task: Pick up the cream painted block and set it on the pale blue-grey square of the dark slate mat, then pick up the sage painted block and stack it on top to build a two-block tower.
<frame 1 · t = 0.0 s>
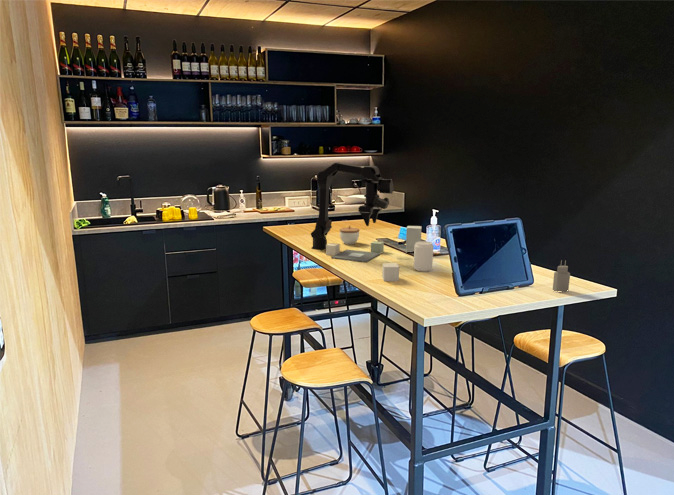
hand: (371, 224, 246), 15 cm above the table, fingers open, 9 cm apart
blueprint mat: (356, 256, 244), on the table
pinkish grey cube: (390, 279, 206), on the table
supplement box: (413, 251, 254), on the table
beverage can: (422, 270, 220), on the table
sage block: (377, 252, 253), on the table
power adapter: (560, 291, 191), on the table
lidded jar: (349, 243, 273), on the table
cream block: (332, 254, 248), on the table
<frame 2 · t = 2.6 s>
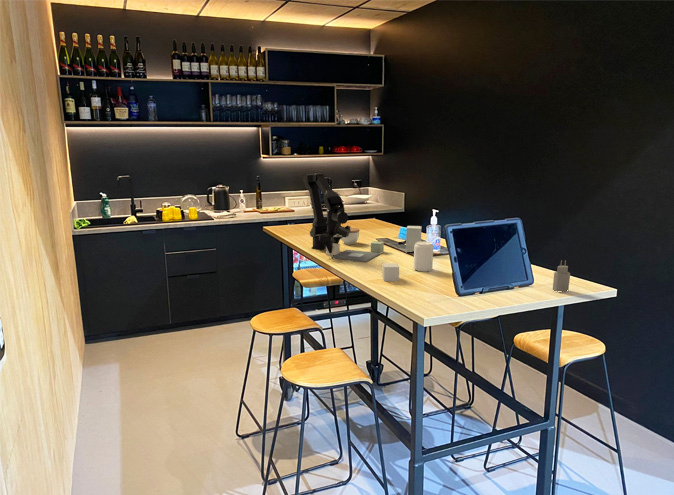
hand: (332, 252, 248), 1 cm above the table, fingers closed on cream block, 5 cm apart
cream block: (332, 254, 248), on the table, touching gripper
everything else where it was.
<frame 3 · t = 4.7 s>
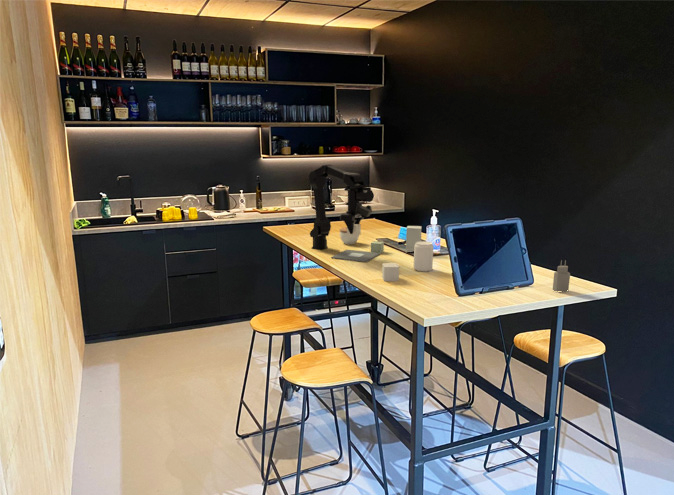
hand: (353, 232, 242), 11 cm above the table, fingers closed on cream block, 5 cm apart
cream block: (353, 235, 242), point 10 cm above the table, touching gripper
everything else where it was.
when the fingers open (3 cm above the table, at t = 6.8 s): cream block stays where it is, resting on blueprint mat.
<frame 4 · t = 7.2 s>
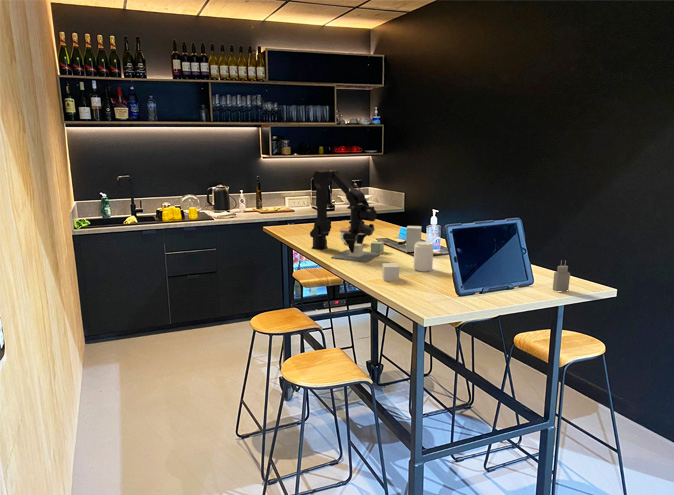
hand: (356, 250, 243), 3 cm above the table, fingers open, 9 cm apart
cream block: (356, 254, 244), point 1 cm above the table, touching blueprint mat
everything else where it was.
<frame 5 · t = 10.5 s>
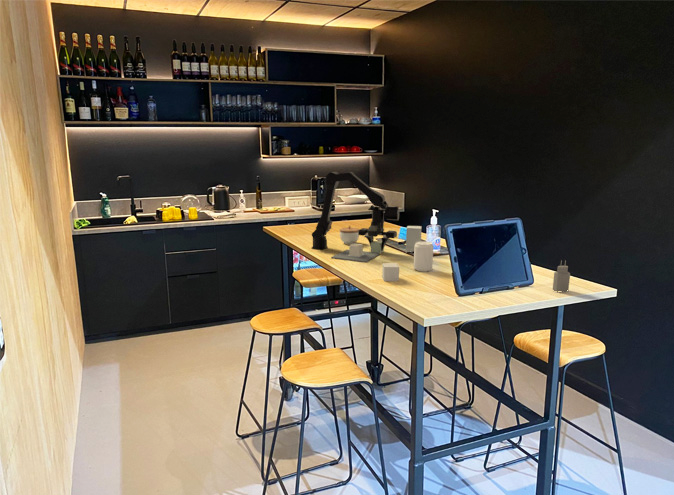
hand: (377, 249, 253), 1 cm above the table, fingers closed on sage block, 5 cm apart
sage block: (377, 252, 253), on the table, touching gripper
everything else where it was.
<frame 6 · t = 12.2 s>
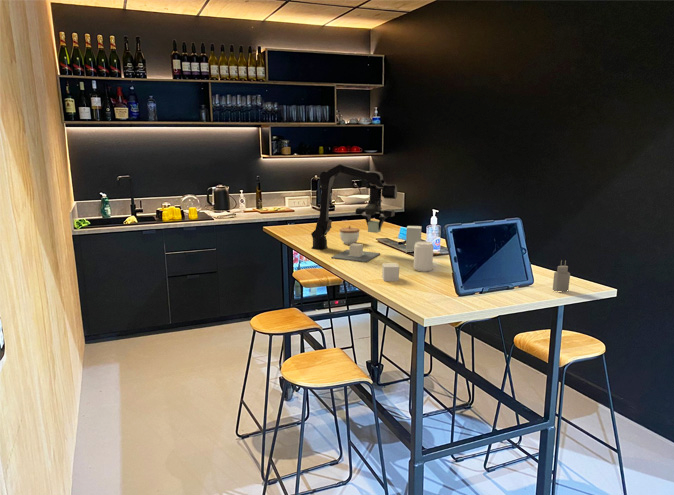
hand: (374, 229, 249), 12 cm above the table, fingers closed on sage block, 5 cm apart
sage block: (374, 231, 249), point 11 cm above the table, touching gripper
everything else where it was.
when the fingers open (8 cm above the table, at t = 14.1 s): sage block stays where it is, resting on cream block.
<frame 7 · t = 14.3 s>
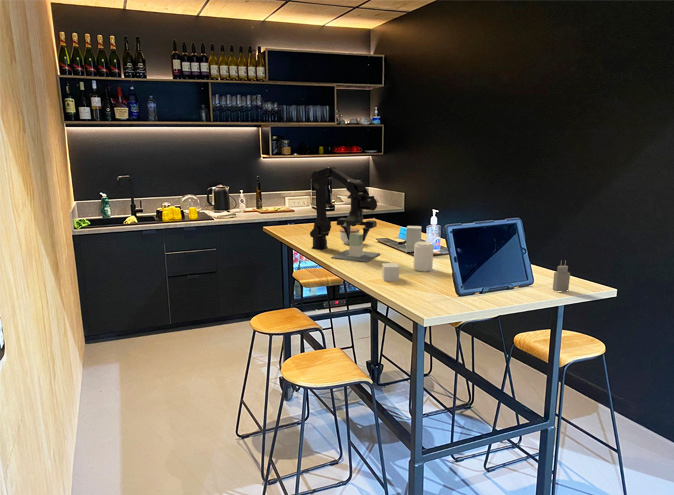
hand: (356, 240, 242), 8 cm above the table, fingers open, 7 cm apart
sage block: (356, 244, 243), point 6 cm above the table, touching cream block
cream block: (356, 254, 244), point 1 cm above the table, touching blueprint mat, sage block
everything else where it was.
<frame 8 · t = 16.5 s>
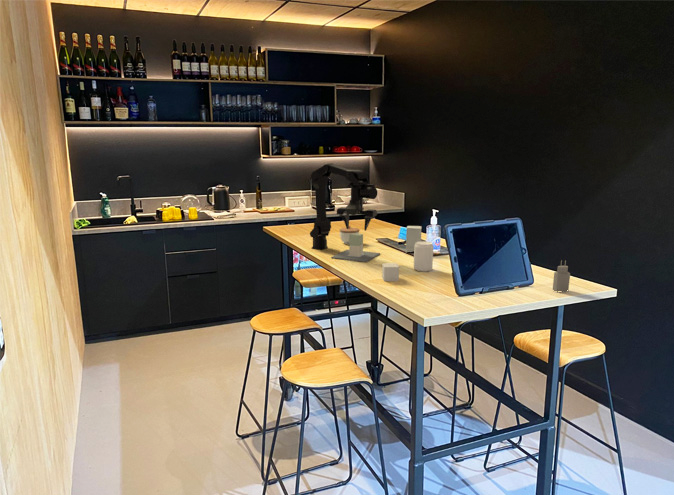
hand: (356, 229, 241), 13 cm above the table, fingers open, 9 cm apart
nothing on the table moved.
at the end: cream block 0.0 cm off-centre on the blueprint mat, point 0.7 cm above the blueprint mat's base; sage block 0.0 cm off-centre on the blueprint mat, point 5.7 cm above the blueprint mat's base; sage block tilted 0° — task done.
